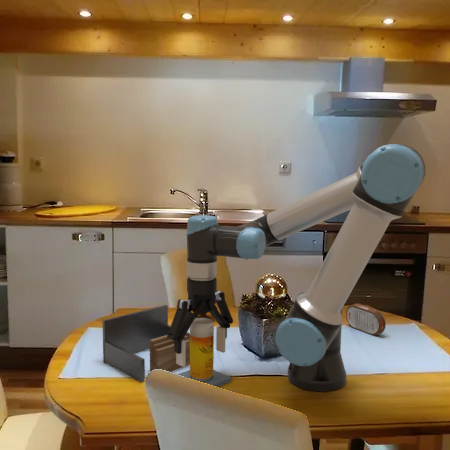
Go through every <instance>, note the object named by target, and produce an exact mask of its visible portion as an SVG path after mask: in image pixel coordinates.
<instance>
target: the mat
mask: <svg viewBox="0 0 450 450" xmlns="http://www.w3.org/2000/svg"><path fill="white" fill-rule="evenodd" d="M177 374H178V375H181V376H184V377H187V378H191V379H192V377H191V376H190V369H189V370H186V371H183V372H181V373H180V372H179V373H177ZM200 382H203V383H207V384H210V385H213V386H217V387H216V388H218V387H219V388H220V387H221V386H223V385H225V384H229V383H231V382H232V377H231V376H228V375H227V374H225V373H222V372H220V371H217V370H215V369H213V376H212V377H211V378H210V379H209V380H206V381H200Z"/></svg>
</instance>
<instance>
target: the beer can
mask: <svg viewBox="0 0 450 450" xmlns="http://www.w3.org/2000/svg"><path fill="white" fill-rule="evenodd" d="M211 319H212V318H211ZM211 319H208V318H195V319H194V321H193V323H192V324H191V326H190V328H189V333H190V365H189V370H190V376H191V377H192V379H194V380H197V381H206V380H209V379H210V378H211V377H212V376H213V370H214V341H215V339H214V337H215V335H214V333H215V332H214V331H215V330H214V329H215V328H214V327H215V325H214V323H213V320H211Z"/></svg>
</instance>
